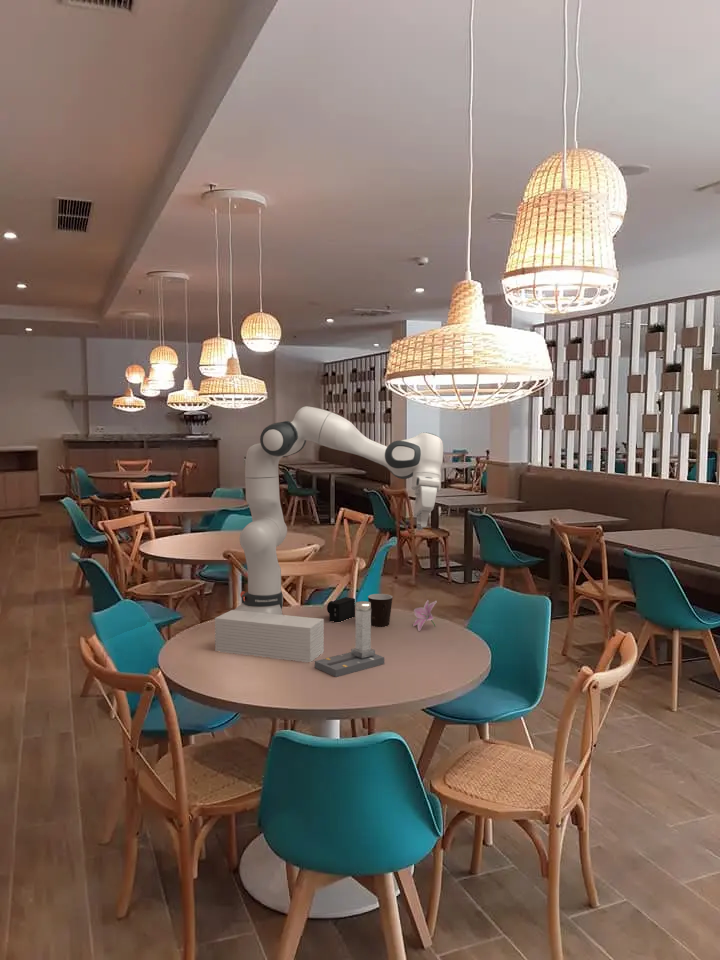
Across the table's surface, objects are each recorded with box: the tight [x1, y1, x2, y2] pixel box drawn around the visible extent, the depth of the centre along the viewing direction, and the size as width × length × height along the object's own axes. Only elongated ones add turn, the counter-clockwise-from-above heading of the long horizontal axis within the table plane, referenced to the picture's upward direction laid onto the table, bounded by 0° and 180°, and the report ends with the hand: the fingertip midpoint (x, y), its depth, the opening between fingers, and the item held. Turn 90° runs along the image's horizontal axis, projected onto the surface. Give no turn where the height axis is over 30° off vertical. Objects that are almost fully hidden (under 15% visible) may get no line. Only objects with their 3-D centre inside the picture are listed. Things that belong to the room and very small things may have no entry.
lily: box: [412, 599, 438, 632], centre depth 257 cm, size 12×12×10 cm
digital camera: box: [326, 596, 356, 623], centre depth 268 cm, size 10×5×7 cm, turn 146°
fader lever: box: [350, 600, 376, 658], centre depth 219 cm, size 5×5×16 cm
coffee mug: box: [367, 593, 394, 628], centre depth 259 cm, size 12×9×10 cm
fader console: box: [314, 651, 385, 678], centre depth 217 cm, size 18×10×2 cm, turn 129°
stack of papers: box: [214, 609, 325, 663], centre depth 229 cm, size 32×11×11 cm, turn 71°
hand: (421, 528), depth 228 cm, fingers open, 8 cm apart
